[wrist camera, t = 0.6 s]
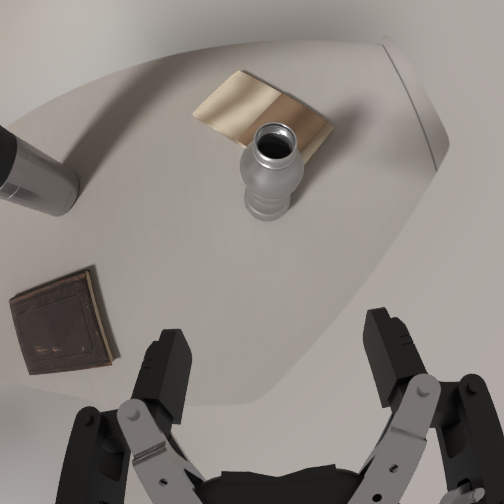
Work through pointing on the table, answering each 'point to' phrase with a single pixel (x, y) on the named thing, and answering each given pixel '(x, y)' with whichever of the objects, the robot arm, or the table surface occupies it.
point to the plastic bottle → (271, 170)
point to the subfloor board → (260, 113)
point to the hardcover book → (60, 327)
